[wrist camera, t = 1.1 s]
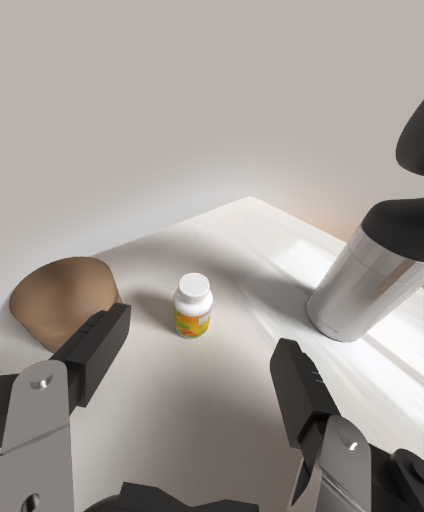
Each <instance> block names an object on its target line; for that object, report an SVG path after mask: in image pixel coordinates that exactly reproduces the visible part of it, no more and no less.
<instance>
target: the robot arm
mask: <svg viewBox="0 0 424 512" xmlns="http://www.w3.org/2000/svg"><path fill="white" fill-rule="evenodd" d="M396 160H397V162H398V164H399V165H400V166H401V167H402V168H404V169H406V170H408V171H410V172H412V173H415V174H418V175H422V176H424V100H423V102H422V103H421V104H420V105H419V107H418V108H417V109H416V111H415V112H414V114H413V115H412V117H411V118H410V120H409V121H408V123H407V124H406V126H405V128H404V129H403V132H402V133H401V135H400V138H399V140H398V143H397V147H396ZM422 285H424V198H418V199H400V200H387V201H382V202H380V203H378V204H376V205H375V206H373V207H372V208H371V209H370V211H369V212H368V214H367V215H366V216H365V218H364V219H363V221H362V222H361V224H360V225H359V227H358V228H357V230H356V231H355V233H354V234H353V236H352V237H351V239H350V240H349V242H348V243H347V245H346V246H345V247H344V249H343V250H342V252H341V253H340V255H339V256H338V258H337V259H336V261H335V262H334V264H333V265H332V266H331V268H330V269H329V271H328V272H327V274H326V275H325V277H324V278H323V280H322V281H321V283H320V284H319V285H318V287H317V288H316V290H315V291H314V293H313V294H312V296H311V297H310V299H309V300H308V302H307V305H306V311H307V314H308V317H309V319H310V320H311V322H312V323H313V324H314V326H315V327H316V328H317V329H318V330H320V331H321V332H322V333H324V334H325V335H327V336H328V337H330V338H332V339H335V340H337V341H342V342H352V341H355V340H357V339H358V338H360V337H361V336H362V335H363V334H364V333H366V332H367V331H368V330H369V329H370V328H372V327H373V326H374V325H376V324H377V323H378V322H379V321H380V320H382V319H383V318H384V317H385V316H386V315H388V314H389V313H390V312H391V311H392V310H394V309H395V308H396V307H397V306H398V305H400V304H401V303H402V302H403V301H405V300H406V299H407V298H408V297H409V296H411V295H412V294H413V293H414V292H415V291H417V290H418V289H419V288H420V287H421V286H422ZM130 316H131V305H127V304H123V303H118V302H115V303H114V304H113V305H112V306H111V308H110V309H109V310H108V311H104V310H101V311H99V312H97V313H95V314H93V315H91V316H90V317H89V318H88V319H87V320H86V322H85V323H84V324H83V325H82V326H81V327H80V328H79V329H78V330H77V332H75V333H74V334H73V335H72V336H71V337H70V338H69V339H68V340H67V341H66V342H65V343H64V344H63V345H62V346H61V348H60V349H59V350H58V351H57V352H56V353H55V354H54V355H53V356H52V357H51V358H50V359H49V360H46V361H42V362H39V363H36V364H34V365H32V366H30V367H28V368H27V369H25V370H24V371H23V372H22V373H20V374H12V375H2V376H0V448H1V452H0V512H74V500H73V480H72V459H71V439H70V423H69V417H70V415H71V413H72V412H73V410H74V409H75V407H76V406H80V407H85V408H86V406H87V404H88V402H89V401H90V399H91V397H92V396H93V394H94V392H95V391H96V389H97V387H98V386H99V384H100V382H101V381H102V379H103V377H104V376H105V374H106V372H107V370H108V369H109V367H110V365H111V364H112V362H113V360H114V359H115V357H116V355H117V354H118V352H119V350H120V349H121V347H122V345H123V344H124V342H125V340H126V338H127V335H128V332H129V326H130ZM270 373H271V376H272V380H273V384H274V387H275V391H276V395H277V399H278V402H279V406H280V410H281V414H282V417H283V421H284V425H285V428H286V432H287V436H288V440H289V443H290V447H293V448H298V449H301V450H302V453H303V457H302V459H301V461H300V464H299V468H298V471H297V475H296V478H295V481H294V485H293V488H292V492H291V495H290V498H289V502H288V505H287V509H286V511H285V512H424V461H423V460H422V459H421V458H420V457H418V456H417V455H416V454H414V453H412V452H410V451H408V450H406V449H397V450H396V451H395V452H394V453H393V454H392V455H390V454H388V453H386V452H385V451H383V450H381V449H379V448H377V447H375V446H373V445H371V444H369V443H368V442H367V440H366V438H365V437H364V435H363V434H362V433H361V432H360V430H359V429H358V428H357V427H356V426H355V425H354V424H353V423H351V422H350V421H349V420H347V419H345V418H343V417H342V416H341V414H340V412H339V410H338V408H337V406H336V405H335V403H334V401H333V399H332V397H331V395H330V393H329V391H328V389H327V387H326V385H325V383H323V380H322V378H321V376H320V374H319V372H318V370H317V368H316V366H315V364H314V362H313V361H312V360H311V359H310V358H309V357H308V356H307V355H306V353H302V351H301V349H300V347H299V345H298V343H297V341H294V340H290V339H285V338H280V340H279V341H278V344H277V346H276V348H275V350H274V353H273V355H272V357H271V360H270ZM83 512H259V507H258V505H256V504H250V503H244V502H239V501H233V500H227V499H225V500H221V501H217V502H213V503H209V504H205V505H200V506H196V507H189V506H187V505H185V504H184V503H182V502H180V501H179V500H177V499H175V498H174V497H172V496H170V495H169V494H167V493H165V492H164V491H162V490H161V489H159V488H157V487H151V486H145V485H139V484H133V483H128V482H123V485H122V488H121V491H120V494H118V495H114V496H111V497H108V498H105V499H103V500H101V501H99V502H97V503H95V504H93V505H92V506H90V507H89V508H87V509H86V510H85V511H83Z"/></svg>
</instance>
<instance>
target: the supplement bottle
mask: <svg viewBox="0 0 424 512" xmlns="http://www.w3.org/2000/svg"><path fill="white" fill-rule="evenodd" d="M209 286H210V284H209V281H208V279H207V278H206V277H205V276H204V275H202V274H199V273H188V274H186V275H184V276H183V277H182V278H181V279H180V281H179V284H178V289H177V290H176V292H175V294H174V318H175V328H176V330H177V332H178V333H179V334H180V335H181V336H182V337H184V338H187V339H196V338H199V337H201V336H202V335H203V334H204V333H205V332H206V331H207V329H208V326H209V321H210V315H211V309H212V303H213V296H212V293H211V291H210V289H209Z"/></svg>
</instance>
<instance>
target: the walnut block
mask: <svg viewBox="0 0 424 512" xmlns="http://www.w3.org/2000/svg"><path fill="white" fill-rule="evenodd" d="M115 302H118V303H122V301H121V298H120V296H119V293H118V290H117V287H116V284H115V281H114V278H113V275H112V272H111V270H110V268H109V266H108V265H107V264H106V263H104V262H103V261H101V260H99V259H95V258H91V257H71V258H65V259H61V260H57V261H55V262H52V263H49V264H47V265H45V266H43V267H40V268H39V269H37V270H35V271H34V272H32V273H31V274H29V275H28V276H27V277H25V278H24V279H23V280H22V281H21V282H20V283H19V284H18V285H17V287H16V288H15V289H14V291H13V293H12V295H11V297H10V301H9V307H10V311H11V313H12V315H13V316H14V317H15V318H16V319H17V320H18V321H19V322H20V323H21V324H22V325H23V326H24V327H25V328H26V329H27V330H28V331H29V332H30V333H31V334H32V335H33V336H34V337H35V338H36V339H37V340H38V341H39V342H40V343H41V344H43V345H44V346H45V347H46V348H47V349H48V350H49V351H50V352H52V353H54V354H55V353H56V352H57V351H58V350H59V349H60V348H61V346H62V345H63V344H64V343H65V342H66V341H67V340H68V339H69V338H70V337H71V336H72V335H73V334H74V333H75V332H77V330H78V329H79V328H80V327H81V326H82V325H83V324H84V323H85V322H86V320H87V319H88V318H89V317H90V316H91V315H93V314H95V313H97V312H99V311H101V310H104V311H108V310H109V309H110V308H111V306H112V305H113V304H114V303H115Z"/></svg>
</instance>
